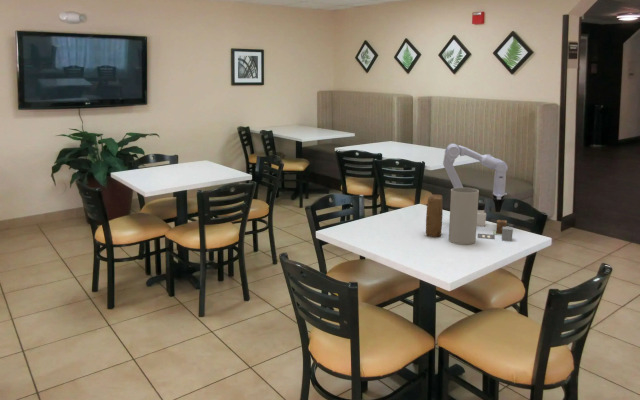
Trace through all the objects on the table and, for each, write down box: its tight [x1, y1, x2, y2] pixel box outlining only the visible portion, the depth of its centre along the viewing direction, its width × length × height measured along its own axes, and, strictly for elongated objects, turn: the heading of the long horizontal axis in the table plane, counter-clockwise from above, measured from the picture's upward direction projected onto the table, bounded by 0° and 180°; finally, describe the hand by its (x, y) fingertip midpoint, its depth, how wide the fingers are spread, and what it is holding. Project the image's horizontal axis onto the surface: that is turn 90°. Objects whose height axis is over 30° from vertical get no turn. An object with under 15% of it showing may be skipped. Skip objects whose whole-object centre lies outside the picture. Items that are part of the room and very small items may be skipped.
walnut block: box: [496, 219, 508, 234], centre depth 268 cm, size 4×4×6 cm
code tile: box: [477, 233, 496, 240], centre depth 263 cm, size 8×8×1 cm
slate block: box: [501, 226, 514, 242], centre depth 257 cm, size 4×4×6 cm
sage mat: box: [492, 229, 502, 236], centre depth 268 cm, size 8×8×1 cm
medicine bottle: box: [477, 201, 487, 227], centre depth 283 cm, size 7×7×12 cm
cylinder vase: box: [448, 187, 480, 246], centre depth 253 cm, size 12×12×25 cm
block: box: [425, 194, 444, 238], centre depth 265 cm, size 11×8×20 cm
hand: (497, 210), depth 277 cm, fingers open, 7 cm apart
